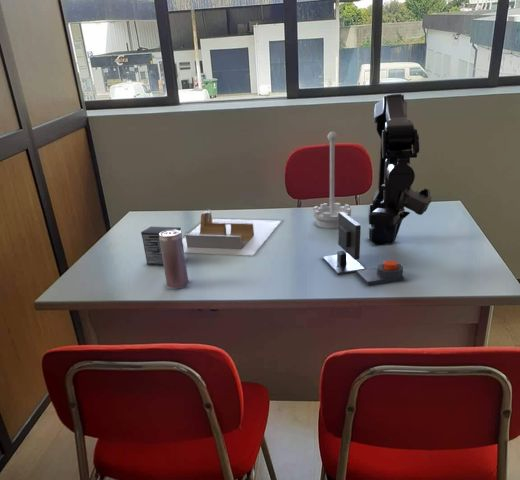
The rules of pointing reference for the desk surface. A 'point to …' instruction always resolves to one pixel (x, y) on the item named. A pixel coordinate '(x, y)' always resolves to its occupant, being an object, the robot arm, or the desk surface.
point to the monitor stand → (343, 263)
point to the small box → (154, 244)
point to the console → (380, 275)
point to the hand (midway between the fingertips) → (392, 241)
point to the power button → (390, 265)
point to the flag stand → (330, 214)
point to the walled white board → (228, 235)
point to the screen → (349, 235)
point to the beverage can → (173, 258)
